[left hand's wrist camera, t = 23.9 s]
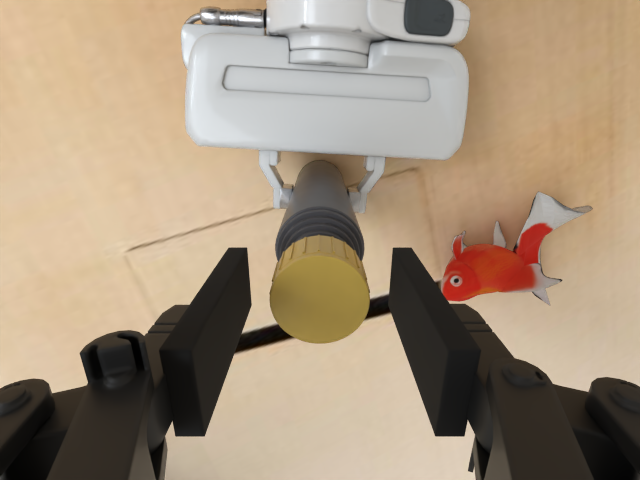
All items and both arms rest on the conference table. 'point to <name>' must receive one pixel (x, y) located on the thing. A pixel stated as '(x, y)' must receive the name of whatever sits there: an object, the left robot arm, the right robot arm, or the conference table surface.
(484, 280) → the fish
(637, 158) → the conference table surface
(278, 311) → the cap
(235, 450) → the conference table surface
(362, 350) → the conference table surface
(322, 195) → the bottle
